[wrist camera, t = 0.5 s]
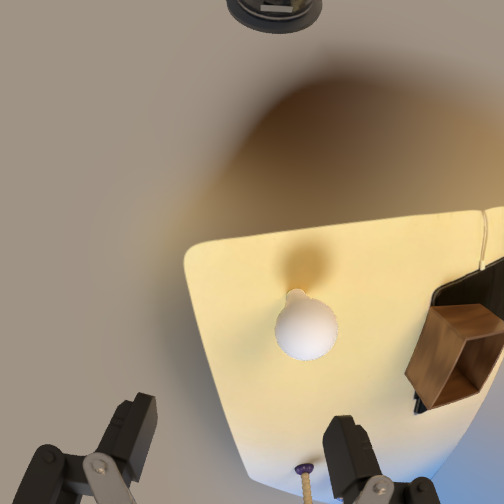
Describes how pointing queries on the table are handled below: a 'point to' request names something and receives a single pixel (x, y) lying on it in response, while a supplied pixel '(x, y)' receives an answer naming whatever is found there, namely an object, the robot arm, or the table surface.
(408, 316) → the table surface
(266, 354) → the table surface
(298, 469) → the toy lamp
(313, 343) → the lightbulb
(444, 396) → the box
